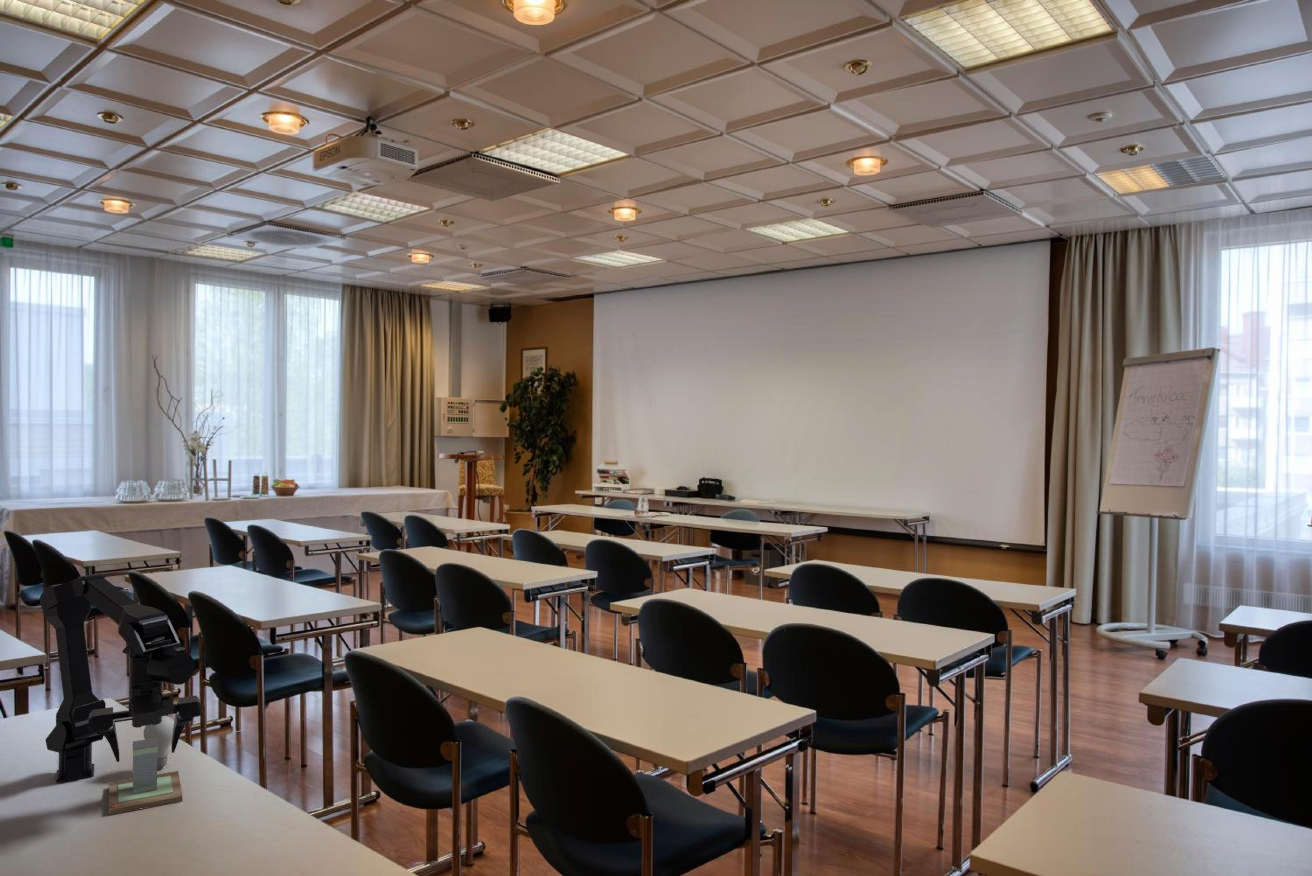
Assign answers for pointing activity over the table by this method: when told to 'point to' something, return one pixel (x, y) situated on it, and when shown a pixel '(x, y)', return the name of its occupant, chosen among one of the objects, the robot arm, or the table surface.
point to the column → (145, 765)
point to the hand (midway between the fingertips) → (145, 756)
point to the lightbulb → (161, 738)
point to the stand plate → (144, 794)
